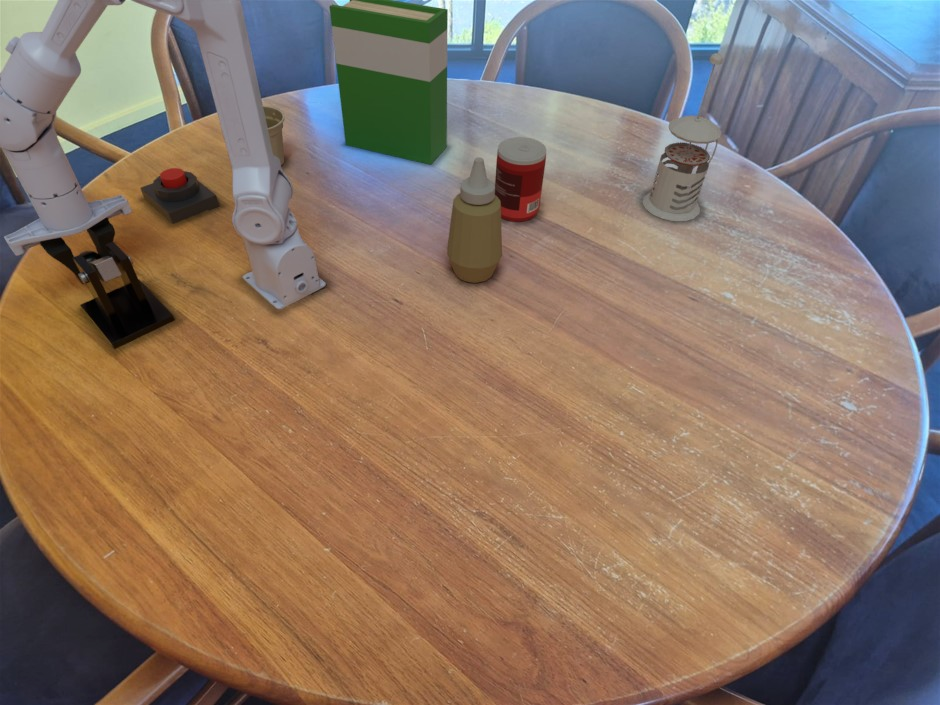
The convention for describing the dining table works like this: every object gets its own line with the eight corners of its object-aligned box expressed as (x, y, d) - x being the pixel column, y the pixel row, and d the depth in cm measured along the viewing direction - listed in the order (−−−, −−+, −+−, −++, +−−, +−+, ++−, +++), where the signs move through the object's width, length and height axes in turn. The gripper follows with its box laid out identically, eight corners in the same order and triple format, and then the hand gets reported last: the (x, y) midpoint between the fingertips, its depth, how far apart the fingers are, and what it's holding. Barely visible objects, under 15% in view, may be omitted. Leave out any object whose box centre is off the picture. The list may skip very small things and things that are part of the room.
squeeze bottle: (495, 292, 89) (505, 179, 76) (440, 283, 90) (440, 171, 77) (504, 259, 94) (515, 148, 81) (453, 251, 95) (455, 141, 82)
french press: (630, 200, 107) (668, 49, 89) (674, 181, 112) (719, 34, 94) (674, 228, 102) (724, 72, 84) (718, 206, 107) (775, 55, 89)
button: (191, 184, 99) (188, 174, 98) (169, 192, 98) (166, 182, 96) (180, 175, 101) (177, 165, 100) (159, 183, 99) (155, 173, 98)
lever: (82, 277, 85) (69, 255, 84) (105, 267, 87) (93, 246, 86) (102, 287, 76) (88, 263, 74) (128, 276, 77) (115, 252, 76)
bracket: (83, 311, 83) (50, 251, 76) (141, 285, 87) (115, 227, 80) (115, 350, 78) (83, 290, 71) (175, 321, 82) (150, 262, 75)
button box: (219, 206, 101) (213, 184, 99) (173, 225, 97) (165, 203, 95) (190, 182, 106) (183, 161, 103) (144, 199, 102) (136, 177, 99)
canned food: (539, 198, 107) (547, 138, 99) (538, 225, 101) (546, 163, 93) (495, 195, 107) (499, 134, 99) (491, 221, 101) (495, 159, 93)
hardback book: (345, 144, 117) (329, 6, 100) (364, 128, 122) (351, -7, 105) (431, 164, 113) (429, 23, 96) (446, 146, 118) (447, 9, 101)
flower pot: (262, 183, 107) (251, 136, 101) (227, 165, 111) (215, 118, 104) (304, 162, 112) (296, 116, 106) (269, 146, 116) (259, 100, 110)
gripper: (98, 155, 82) (135, 241, 91) (-24, 194, 74) (29, 283, 84) (122, 176, 78) (157, 262, 88) (-5, 219, 71) (49, 308, 81)
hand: (96, 274), depth 86 cm, fingers closed on lever, 3 cm apart
